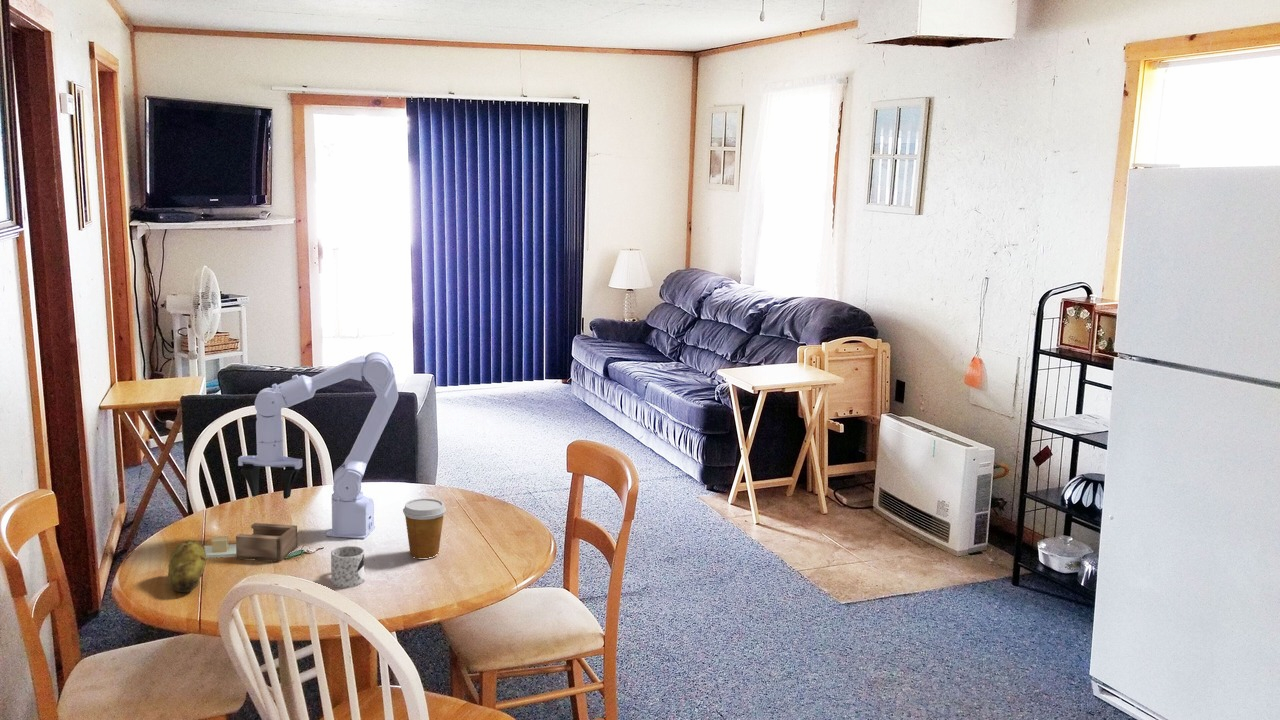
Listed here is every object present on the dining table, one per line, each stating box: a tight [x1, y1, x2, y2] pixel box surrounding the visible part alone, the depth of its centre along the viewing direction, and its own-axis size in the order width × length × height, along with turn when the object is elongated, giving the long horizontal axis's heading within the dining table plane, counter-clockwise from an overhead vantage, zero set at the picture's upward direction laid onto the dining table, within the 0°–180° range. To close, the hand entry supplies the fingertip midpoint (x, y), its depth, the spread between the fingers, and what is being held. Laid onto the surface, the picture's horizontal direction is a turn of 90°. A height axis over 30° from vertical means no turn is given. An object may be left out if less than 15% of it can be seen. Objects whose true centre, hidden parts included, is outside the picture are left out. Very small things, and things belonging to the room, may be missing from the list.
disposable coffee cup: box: [402, 498, 447, 559], centre depth 219 cm, size 10×10×12 cm
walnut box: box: [235, 522, 298, 563], centre depth 216 cm, size 10×9×5 cm
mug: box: [330, 545, 365, 589], centre depth 204 cm, size 10×7×7 cm, turn 21°
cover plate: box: [204, 535, 236, 559], centre depth 216 cm, size 8×6×4 cm
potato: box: [167, 540, 208, 594], centre depth 198 cm, size 8×13×8 cm, turn 3°
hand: (271, 496), depth 225 cm, fingers open, 7 cm apart
